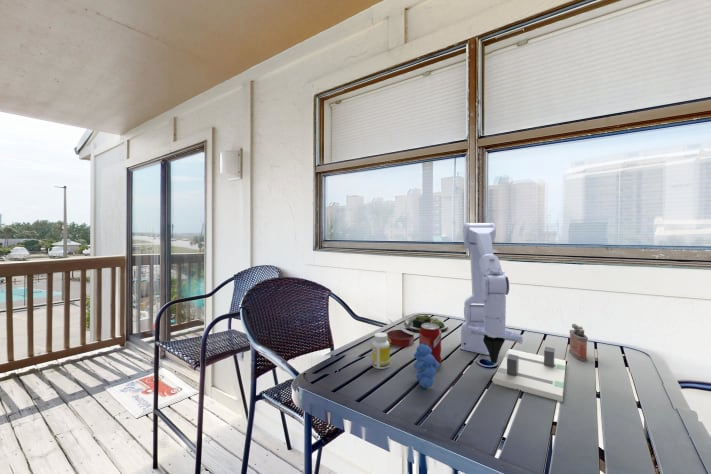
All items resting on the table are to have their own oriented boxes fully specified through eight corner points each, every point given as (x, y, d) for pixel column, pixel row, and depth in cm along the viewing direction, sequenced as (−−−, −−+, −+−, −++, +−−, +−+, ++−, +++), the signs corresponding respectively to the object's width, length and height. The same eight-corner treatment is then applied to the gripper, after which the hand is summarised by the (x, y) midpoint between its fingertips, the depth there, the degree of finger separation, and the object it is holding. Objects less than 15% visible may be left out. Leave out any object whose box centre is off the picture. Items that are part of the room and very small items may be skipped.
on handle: (544, 365, 94) (544, 350, 94) (545, 360, 97) (545, 346, 97) (553, 367, 93) (553, 352, 93) (554, 362, 96) (554, 348, 95)
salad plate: (399, 319, 146) (399, 309, 146) (438, 318, 146) (438, 309, 146) (407, 334, 127) (407, 322, 126) (451, 333, 127) (451, 322, 127)
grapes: (448, 397, 80) (449, 351, 80) (423, 400, 79) (423, 353, 79) (431, 375, 92) (431, 335, 91) (409, 377, 91) (409, 336, 90)
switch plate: (493, 383, 87) (493, 377, 87) (508, 353, 107) (508, 348, 107) (562, 401, 78) (562, 395, 78) (565, 365, 98) (565, 360, 97)
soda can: (428, 370, 95) (428, 330, 95) (414, 361, 101) (414, 324, 101) (445, 365, 98) (446, 327, 98) (431, 357, 104) (431, 321, 104)
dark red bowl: (391, 349, 122) (392, 323, 127) (417, 351, 118) (417, 323, 122) (381, 345, 113) (382, 317, 118) (408, 346, 109) (409, 317, 113)
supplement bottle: (392, 363, 100) (391, 332, 99) (386, 370, 95) (386, 338, 94) (375, 360, 102) (375, 330, 102) (369, 367, 97) (369, 336, 97)
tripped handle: (506, 373, 89) (507, 358, 89) (509, 368, 92) (509, 354, 92) (516, 376, 88) (516, 360, 87) (518, 371, 91) (518, 355, 90)
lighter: (590, 362, 100) (590, 330, 99) (578, 361, 100) (578, 330, 100) (577, 351, 108) (578, 322, 107) (566, 351, 108) (567, 322, 108)
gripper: (465, 315, 93) (464, 360, 93) (520, 324, 84) (519, 374, 85) (471, 309, 99) (471, 352, 99) (524, 317, 90) (523, 364, 91)
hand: (494, 362), depth 92 cm, fingers closed
